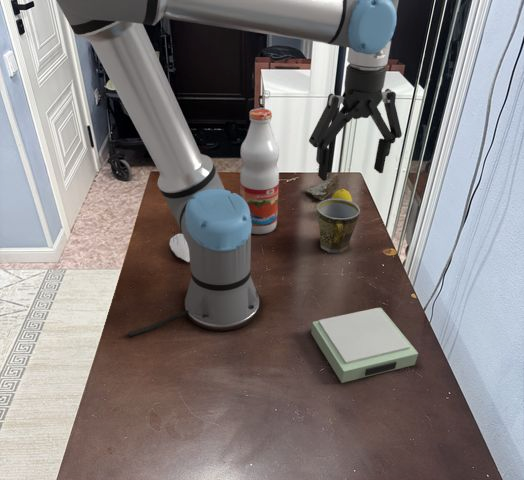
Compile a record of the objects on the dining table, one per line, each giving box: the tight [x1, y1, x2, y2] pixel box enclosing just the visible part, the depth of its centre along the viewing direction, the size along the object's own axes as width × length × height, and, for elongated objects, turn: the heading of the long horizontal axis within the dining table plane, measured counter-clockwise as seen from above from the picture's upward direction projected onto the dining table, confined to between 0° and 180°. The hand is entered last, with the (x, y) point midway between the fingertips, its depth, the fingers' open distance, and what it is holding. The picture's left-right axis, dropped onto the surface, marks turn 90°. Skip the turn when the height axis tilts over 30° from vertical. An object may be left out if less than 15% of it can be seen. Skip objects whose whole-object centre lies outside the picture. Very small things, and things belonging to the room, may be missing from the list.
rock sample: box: [304, 173, 341, 201], centre depth 139 cm, size 10×8×9 cm
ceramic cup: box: [316, 198, 361, 254], centre depth 117 cm, size 13×10×10 cm
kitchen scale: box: [310, 307, 419, 384], centre depth 93 cm, size 15×14×4 cm
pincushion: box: [169, 230, 190, 263], centre depth 116 cm, size 12×6×6 cm, turn 19°
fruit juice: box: [239, 107, 280, 235], centre depth 118 cm, size 9×9×28 cm
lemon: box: [330, 188, 353, 202], centre depth 129 cm, size 6×6×8 cm
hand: (350, 174), depth 108 cm, fingers open, 13 cm apart
